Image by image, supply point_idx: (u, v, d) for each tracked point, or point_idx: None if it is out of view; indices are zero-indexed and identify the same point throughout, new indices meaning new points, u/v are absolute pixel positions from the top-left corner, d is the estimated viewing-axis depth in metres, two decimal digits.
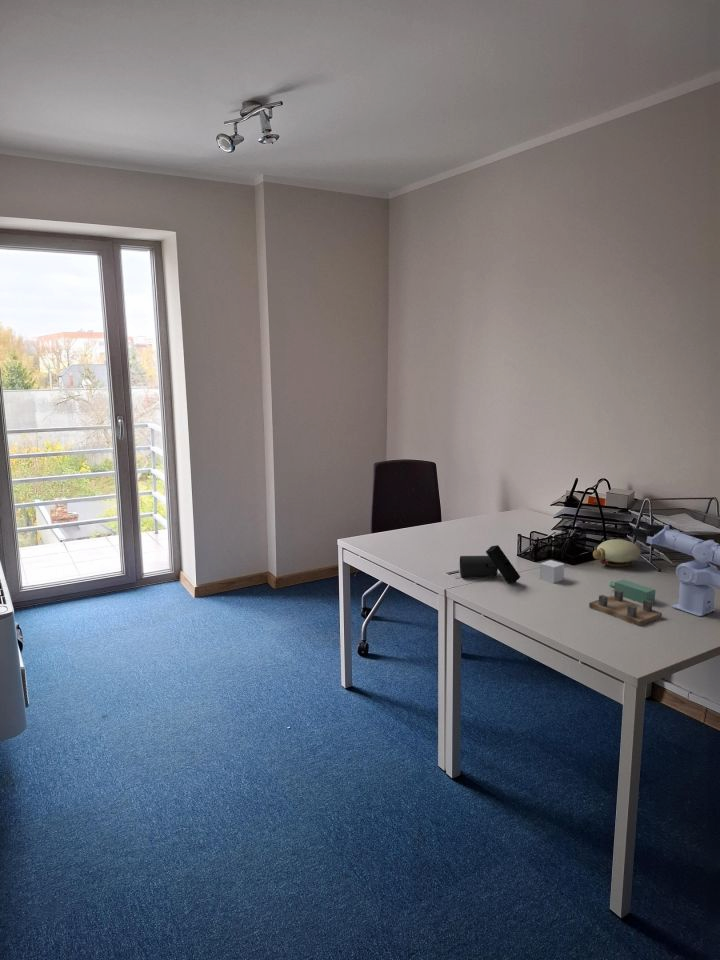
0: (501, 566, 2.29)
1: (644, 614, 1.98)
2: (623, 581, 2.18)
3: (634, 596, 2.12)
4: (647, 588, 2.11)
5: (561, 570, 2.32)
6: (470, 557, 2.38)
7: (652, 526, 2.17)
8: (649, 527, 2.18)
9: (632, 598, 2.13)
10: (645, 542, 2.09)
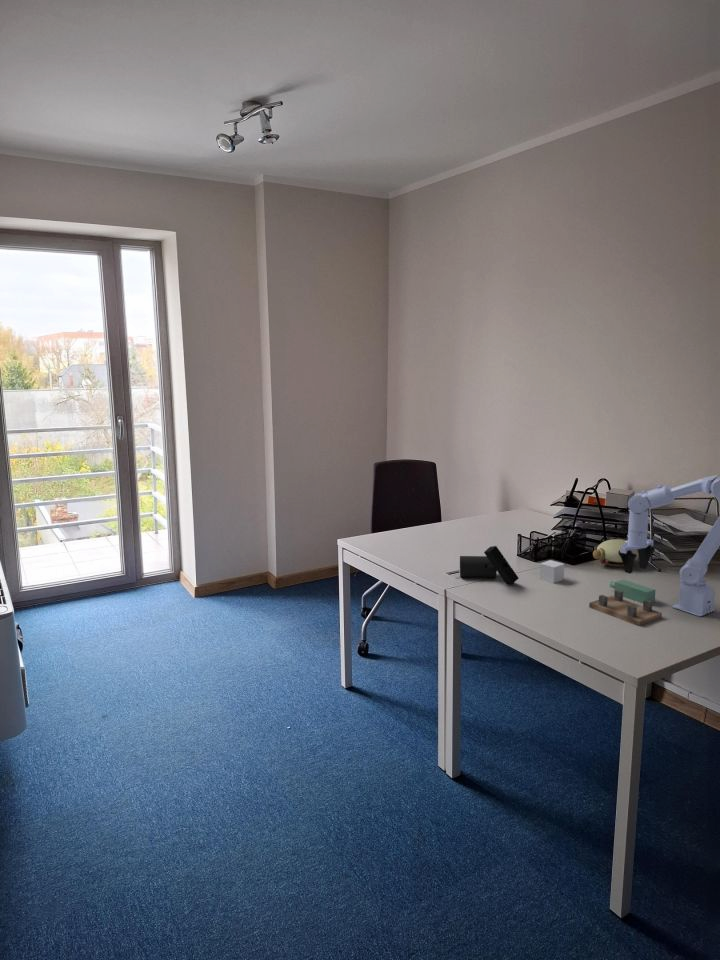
0: (499, 567, 2.28)
1: (644, 614, 1.98)
2: (623, 581, 2.18)
3: (634, 596, 2.12)
4: (647, 588, 2.11)
5: (561, 570, 2.32)
6: (469, 557, 2.38)
7: (640, 562, 2.15)
8: (641, 566, 2.15)
9: (632, 598, 2.13)
10: (629, 557, 2.08)
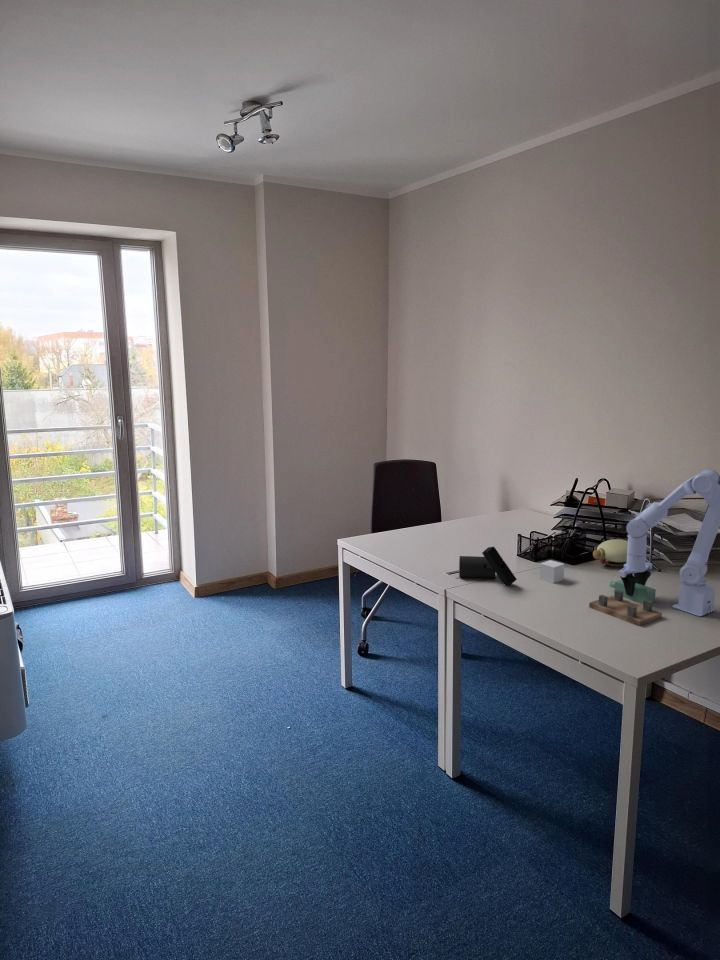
0: (497, 568, 2.27)
1: (644, 614, 1.98)
2: None
3: (634, 596, 2.12)
4: (647, 588, 2.11)
5: (561, 570, 2.32)
6: (469, 557, 2.38)
7: None
8: None
9: (632, 598, 2.13)
10: (630, 580, 2.10)
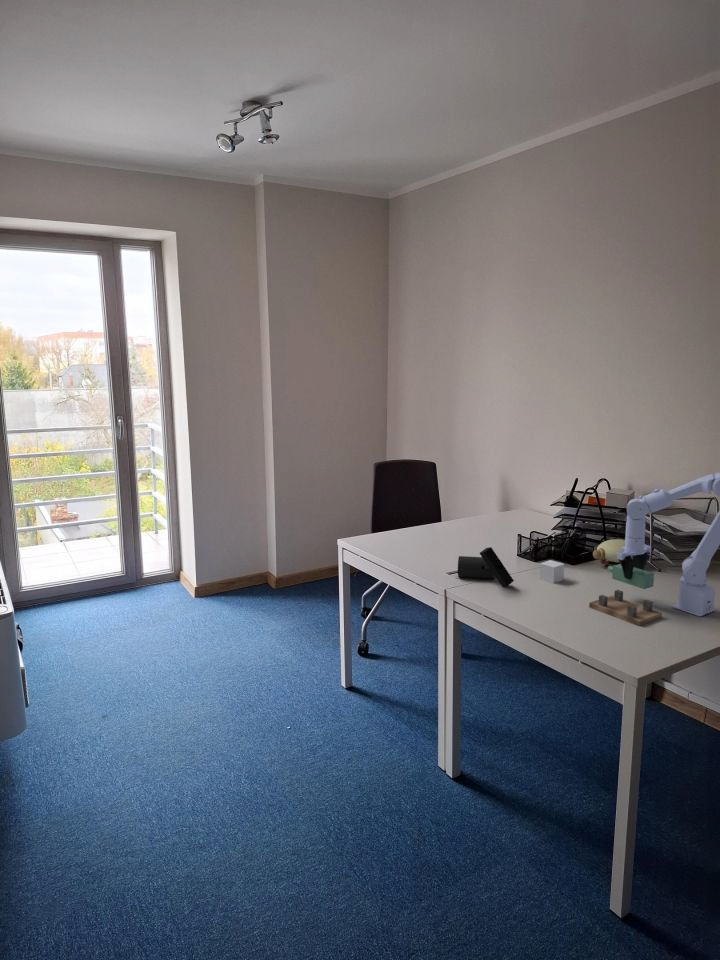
0: (493, 568, 2.26)
1: (644, 614, 1.98)
2: None
3: (632, 580, 2.08)
4: (646, 572, 2.07)
5: (561, 570, 2.32)
6: (468, 558, 2.37)
7: None
8: None
9: (630, 582, 2.08)
10: (629, 562, 2.05)
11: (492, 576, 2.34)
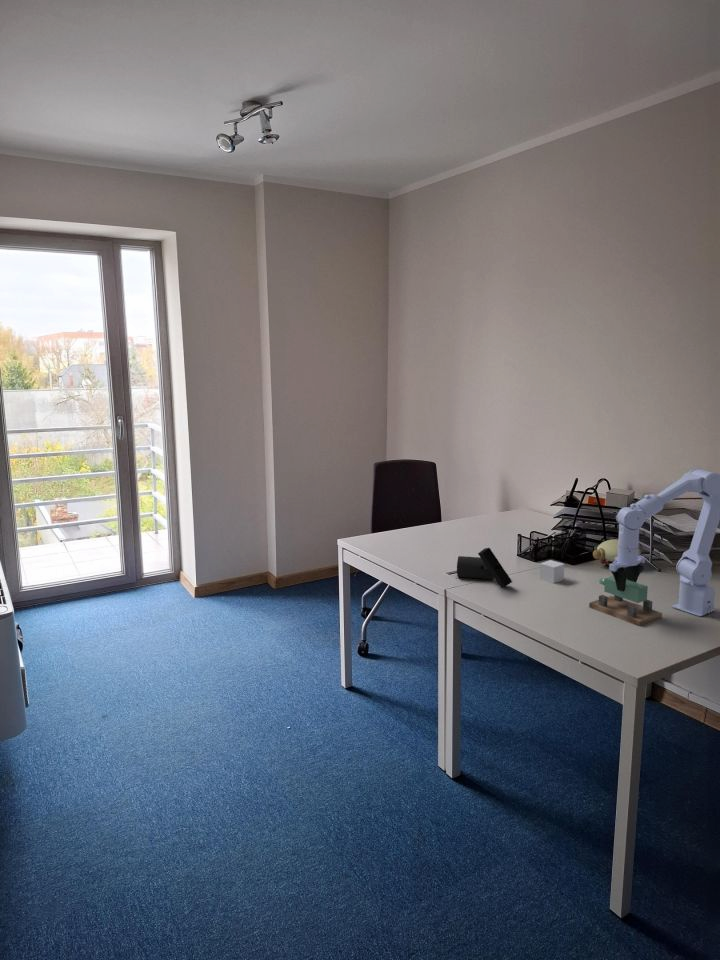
0: (492, 569, 2.26)
1: (644, 614, 1.98)
2: None
3: (625, 593, 2.00)
4: (639, 585, 1.99)
5: (561, 570, 2.32)
6: (467, 558, 2.37)
7: None
8: None
9: (623, 595, 2.00)
10: (621, 574, 1.97)
11: (491, 576, 2.33)
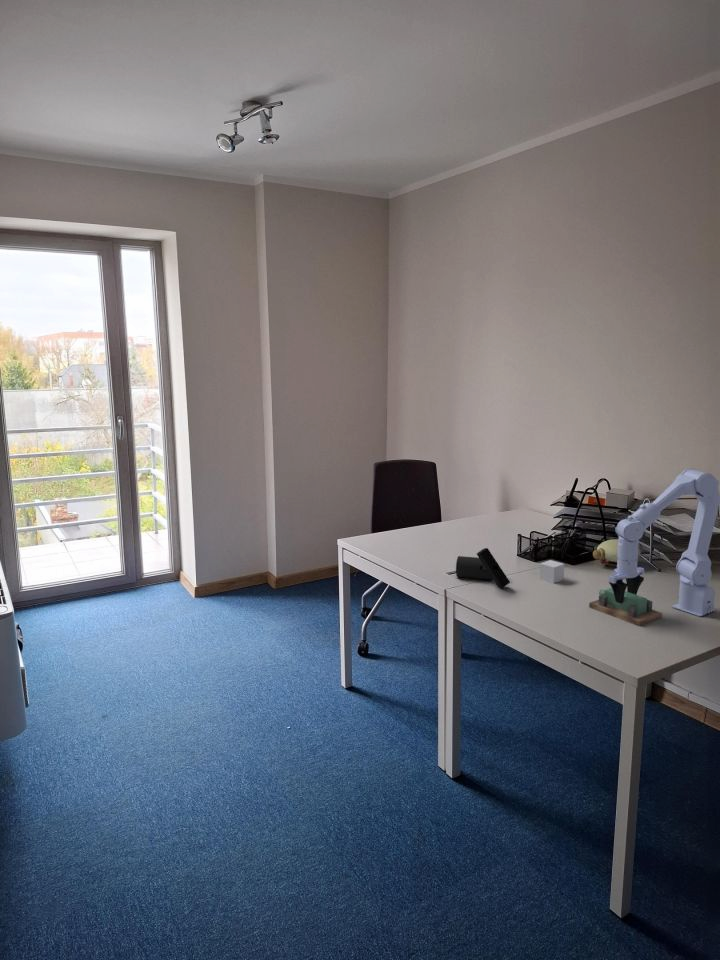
0: (489, 569, 2.25)
1: (644, 614, 1.98)
2: None
3: (625, 606, 2.00)
4: (638, 597, 2.00)
5: (561, 570, 2.32)
6: (466, 558, 2.37)
7: None
8: None
9: (622, 607, 2.01)
10: (620, 586, 1.97)
11: (490, 577, 2.33)
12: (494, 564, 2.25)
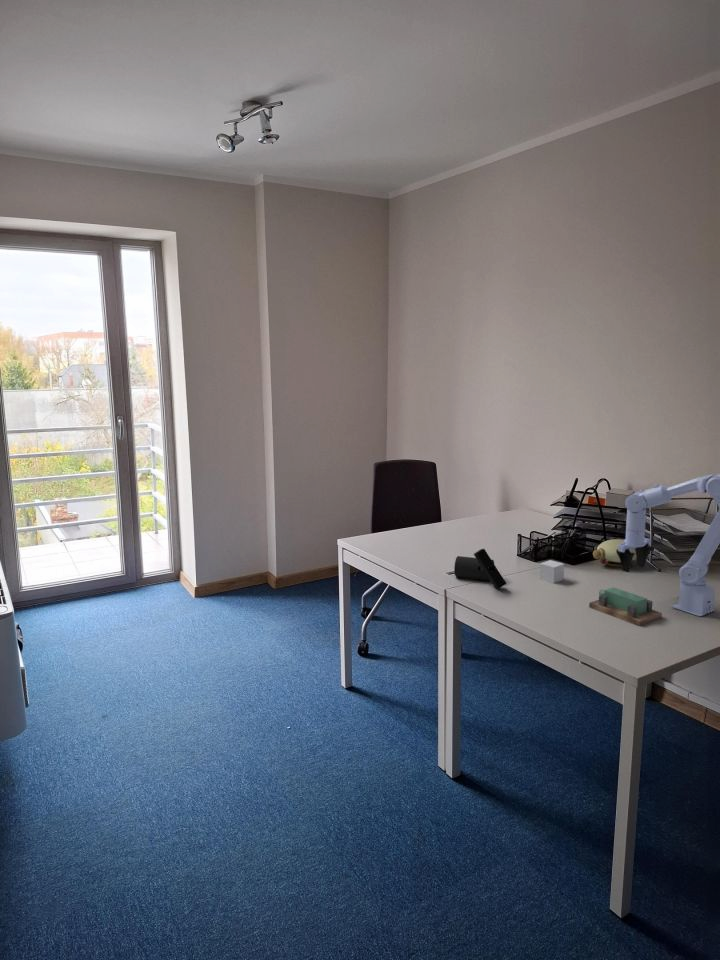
0: (486, 570, 2.25)
1: (644, 614, 1.98)
2: (613, 589, 2.06)
3: (625, 606, 2.00)
4: (638, 597, 2.00)
5: (561, 570, 2.32)
6: (465, 558, 2.37)
7: (637, 561, 2.17)
8: (639, 564, 2.16)
9: (622, 607, 2.01)
10: (627, 555, 2.09)
11: (488, 578, 2.32)
12: (490, 565, 2.24)
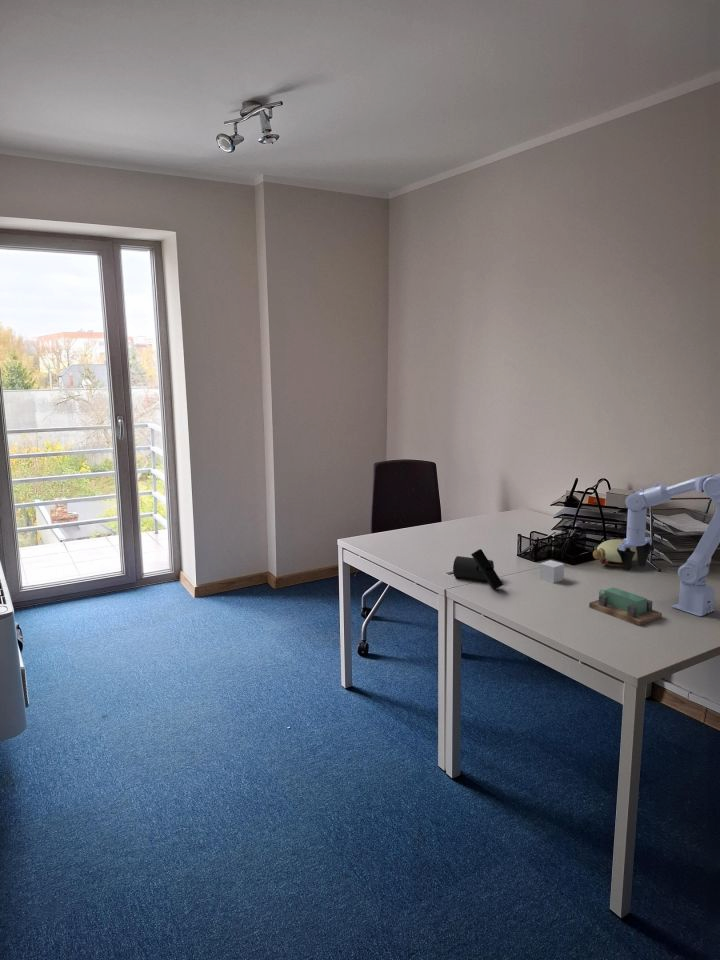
0: (483, 571, 2.24)
1: (644, 614, 1.98)
2: (613, 589, 2.06)
3: (625, 606, 2.00)
4: (638, 597, 2.00)
5: (561, 570, 2.32)
6: (464, 558, 2.37)
7: (638, 560, 2.18)
8: (640, 563, 2.18)
9: (622, 607, 2.01)
10: (628, 554, 2.10)
11: (486, 578, 2.32)
12: (487, 565, 2.24)
